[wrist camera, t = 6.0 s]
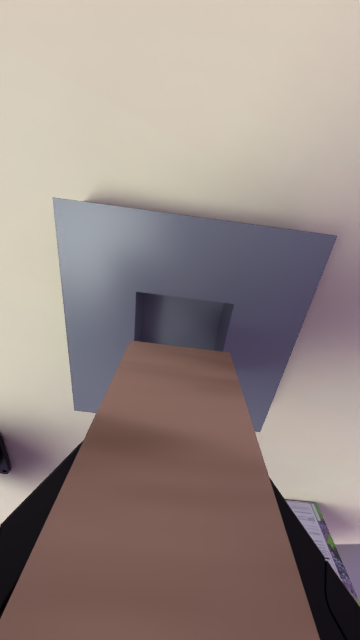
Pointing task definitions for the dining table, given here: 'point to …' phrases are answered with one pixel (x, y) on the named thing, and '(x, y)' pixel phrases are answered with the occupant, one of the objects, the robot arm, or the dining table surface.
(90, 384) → the socket block
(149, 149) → the dining table surface
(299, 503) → the syrup box
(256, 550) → the oak peg
